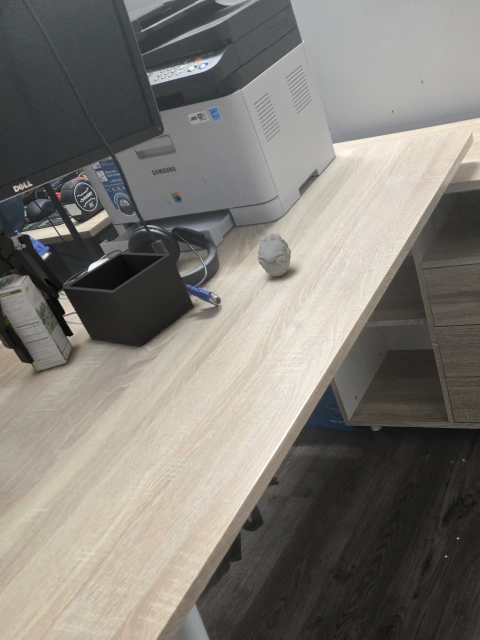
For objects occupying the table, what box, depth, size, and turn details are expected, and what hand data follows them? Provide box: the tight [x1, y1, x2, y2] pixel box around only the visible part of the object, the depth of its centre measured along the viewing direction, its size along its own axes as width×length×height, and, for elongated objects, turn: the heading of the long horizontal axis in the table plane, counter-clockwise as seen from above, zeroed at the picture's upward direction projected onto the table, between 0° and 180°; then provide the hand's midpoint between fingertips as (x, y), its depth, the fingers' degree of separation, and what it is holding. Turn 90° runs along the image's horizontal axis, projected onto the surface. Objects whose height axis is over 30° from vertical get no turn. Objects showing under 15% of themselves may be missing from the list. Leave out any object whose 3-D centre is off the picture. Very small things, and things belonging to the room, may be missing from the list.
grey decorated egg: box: [257, 233, 292, 277], centre depth 117 cm, size 6×7×7 cm
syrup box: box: [0, 273, 74, 372], centre depth 108 cm, size 6×6×14 cm
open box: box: [61, 251, 195, 348], centre depth 113 cm, size 14×14×10 cm
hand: (48, 348), depth 112 cm, fingers closed on syrup box, 8 cm apart
